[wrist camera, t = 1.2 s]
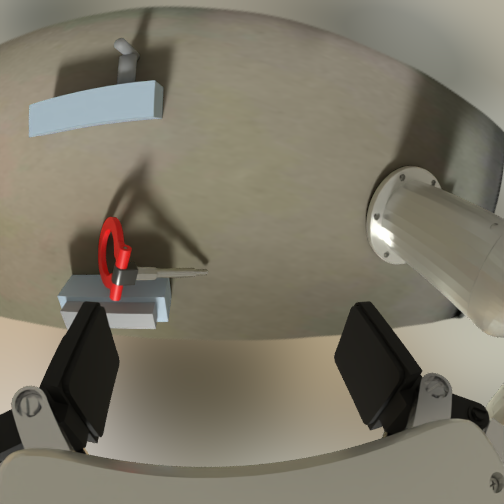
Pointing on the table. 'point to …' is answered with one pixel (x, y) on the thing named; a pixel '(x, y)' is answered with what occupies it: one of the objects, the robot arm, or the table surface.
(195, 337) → the table surface
